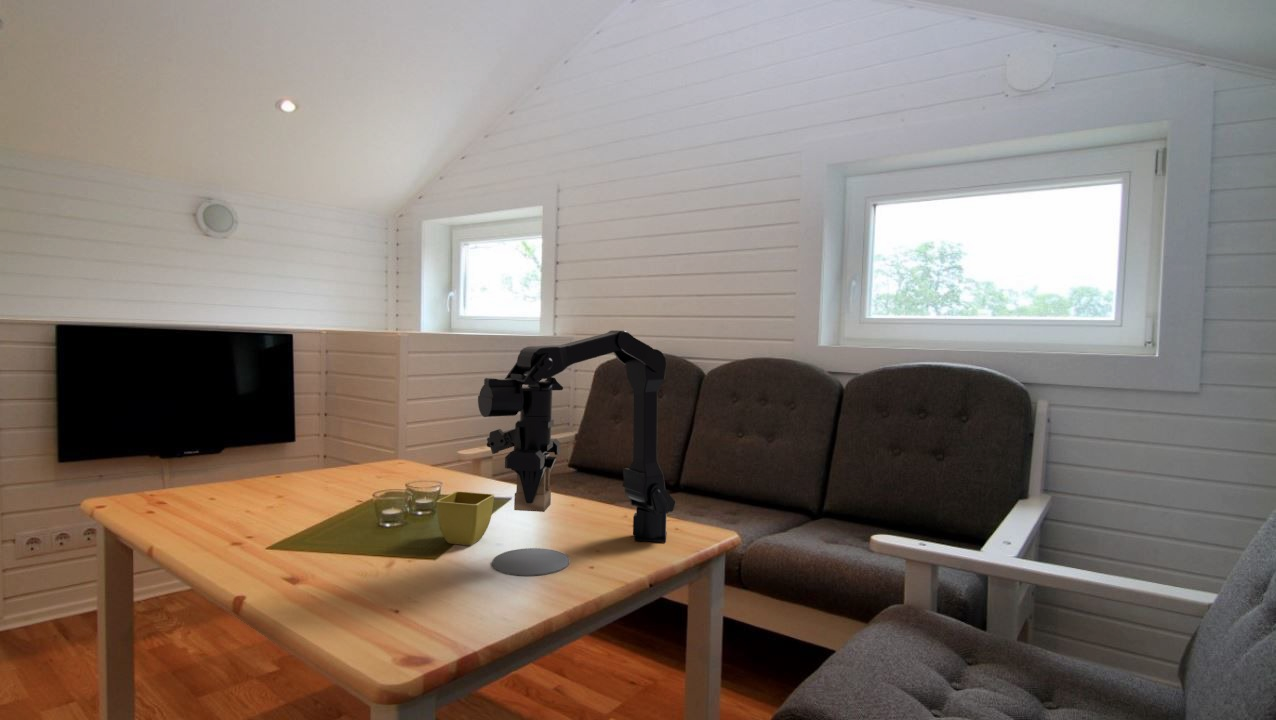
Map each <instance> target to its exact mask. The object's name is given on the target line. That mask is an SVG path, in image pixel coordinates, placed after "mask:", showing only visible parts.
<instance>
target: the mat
mask: <svg viewBox="0 0 1276 720" xmlns="http://www.w3.org/2000/svg"><path fill="white" fill-rule="evenodd" d="M569 565H570V557H569V556H568V555H567V554H566V553H563V552H562V551H559V550H555V549H549V548H541V547H539V548H537V547H532V548H529V547H528V548H527V547H526V548H519V549H517V548H516V549H512V550H509V551H505V552H502V553H500V554H498V555H496V556H495V557H494V558H493V559H492V566H493V568H494V569H495V570H497V571H498V572H501V573H502V574H503V573H504V574H507V575H511V576H512V575H513V576H521V577H522V576H523V577H526V576H527V577H535V576H543V575H545V576H546V575H551V574H554V573H557V572H560V571H563V570H564V569H565V570H566V568H567V567H568V566H569Z"/></svg>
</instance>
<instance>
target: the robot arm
mask: <svg viewBox="0 0 1276 720" xmlns="http://www.w3.org/2000/svg"><path fill="white" fill-rule="evenodd" d="M609 354H614V356H615V357H616V359H617V360H618V361H619V362H620V363H622V364H624V365H625V371H626V378H627V380H628V382H629V384H630V387H631V389H632V391H633V433H632V435H633V441H632V442H633V444H632V446H633V450H632V451H633V453H632V454H633V456H632V461H631V464H630V466H629V467H627V468H626V467H624V468H623V470H622V475H623V482H622V485H621V488H623V489H624V492H625V495H626V496H627V497H628V498H629V502H630V505H631V506H634V507H636V512H634V514H633V516H632V517H633V519H632V535H633V536H634V541H636V542H651V543H652V542H654V543H666V542H667V535H668V532H667V514H668V513H672V512H673V511H674V508H675V504H676V500H675V499H674V498H673V497H672V496H671V495H670V494H669V492H668V491H667V490H666V483H665V477H664V473H663V470H662V469H661V466H660V464H659V462H658V449H657V448H658V392H659V390H660V388H661V386H662V384H663V382H664V380H665V378H666V369H667V358H666V355H665V354H664V353H663V352H662V351H660V350H659V349H657V348H656V349H655V348H653V347H652V346H651V345H649V344H647V343H645V342H643V341H642V340H639V339H637V338H636V337H634V336H633V335H632V334H631V333H629V332H628V331H626V330H609V331H608V332H605V333H603V334H602V333H601V334H598V335H594V336H590V337H586V338H583V339H579V340H575V341H570V342H568V343H563V344H558V345H557V344H556V345H554V344H553V345H533V346H532V345H531V346H529V345H528V346H526V347H523V348H522V349H521V350H520V352H519V354H518V356H517V359H516V362H515V363H514V365H513V366H512V367H511V370H510V371H509V372H508V374H507V375H506V377H504V378H492V377H485V378H484V380H483V383H484V384H483V385H482V387H481V389H480V391H479V395H478V396H477V405H478V411H479V413H480V415H481V416H482V417H483V418H493V417H495V418H496V417H514V416H517V415H518V413H519V420H517V421H516V422H515V425H514V426H515V427H514V428H511V429H508V430H505V431H503V430H502V429H501V428H498V429H495V430H492V431H490V432H489V436H488V437H486V441H487V443H486V447H488V448H490V451H491V454H492V455H495V454H497V453H499V452H501V451H504V450H506V449H507V450H508V449H511V448H513V450H512V451H509V453H508V454H507V455H506V456H505V457H504V469H507V470H508V469H510V470H511V471H514V472H515V474H516V475H517V474H518V475H519V476H520V480H521V483H522V487H523V491H524V496H525V500H526V503H533V500H534V498H535V495H536V493H537V490H538V487H539V485H540V482H541V480H542V477H543V474H544V472H545V469H546V468H550V472H551V471H552V469H553V466H554V465H555V462H556V460H557V455H559V454H561V446H562V445H561V442H560V441H559V440H558V439H557V438H553V437H552V426H554V422H555V421H554V419H552V417H553V416H552V413H553V412H552V411H553V410H552V409H553V392H554V391H563V390H564V387H563V385H561V383H559V382H558V381H557V379H556V377H555V376H556V375H558V374H561V373H562V372H564V371H566V369H567V368H568V367H570V366H572V365H575V364H578V363H581V362H585V361H588V360H591V359H595V358H598V357H602V356H606V355H609ZM543 379H544V381H542V380H543ZM524 385H525V386H524ZM550 453H554V455H555V456H550Z"/></svg>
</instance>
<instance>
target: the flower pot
mask: <svg viewBox="0 0 1276 720" xmlns="http://www.w3.org/2000/svg"><path fill="white" fill-rule="evenodd" d="M494 498H495V494H494V493H493V494H492V493H482V492H481V493H480V492H472V491H471V492H469V491H459V490H458V491H453V492H452V493H450V494H448V495H446V496H444V497H442V498H439V499H437V500H436V501H435V506H436V513H437V522H438V526H439V530H440V532H441V534H442V537H443V538H444V539H445V541H446V542H447V543H448V544H451V545H460V546H461V545H462V546H463V545H464V546H473V545H474V544H475V543H477V542H478V541H480V540H481V539H482V538H483V536H484V535H485V534H486V532H487V530H488V527H489V525H490V523H491V519H492V514H493V507H494V500H495V499H494Z"/></svg>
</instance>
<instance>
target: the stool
mask: <svg viewBox="0 0 1276 720" xmlns="http://www.w3.org/2000/svg"><path fill="white" fill-rule="evenodd" d="M550 480H551V471H550V468H546V469H545V472H544V474H543V477H542V480H541V482H540V485H539V487H538V490H537V493H536V495H535V498H534V500H533V503H526V500H525V496H524V491H523V487H522V483H521V480H520V476H519V475H518V474H517V473H516V492H515V493H514V499H513V500H514V503H513V505H514V507H513V511H520V512H522V511H523V512H539V513H545V511H546V510H547V509H548V508H549V507H550V506H551V505H552V503H551V502H552V501H551V500H552V498H551V497H552V488H550V483H551V481H550Z"/></svg>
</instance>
